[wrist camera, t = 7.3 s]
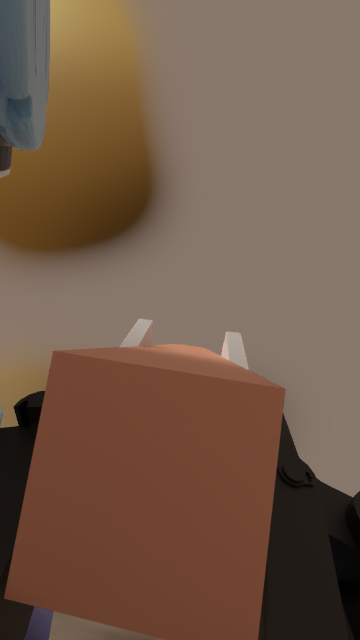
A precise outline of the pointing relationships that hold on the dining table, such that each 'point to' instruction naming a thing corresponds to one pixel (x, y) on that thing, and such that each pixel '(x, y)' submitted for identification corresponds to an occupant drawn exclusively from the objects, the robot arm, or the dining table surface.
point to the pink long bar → (151, 492)
